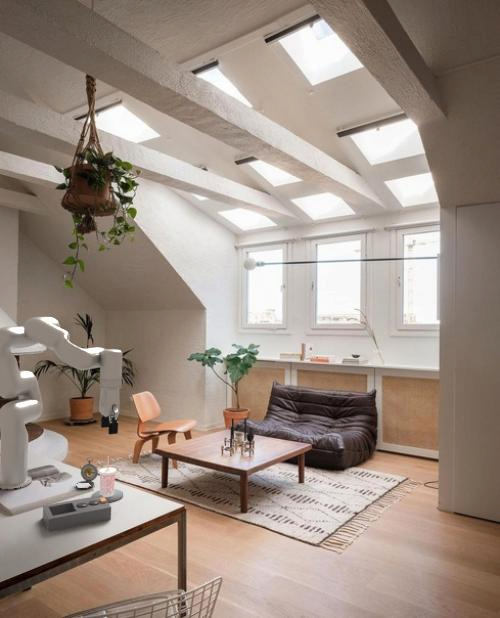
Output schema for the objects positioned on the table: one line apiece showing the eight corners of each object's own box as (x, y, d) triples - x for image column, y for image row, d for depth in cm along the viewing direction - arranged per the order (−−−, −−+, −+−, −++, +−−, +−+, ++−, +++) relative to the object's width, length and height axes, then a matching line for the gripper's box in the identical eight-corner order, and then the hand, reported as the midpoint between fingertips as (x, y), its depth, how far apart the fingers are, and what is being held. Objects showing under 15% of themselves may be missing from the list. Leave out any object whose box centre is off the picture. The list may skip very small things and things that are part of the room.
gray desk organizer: (42, 517, 156) (43, 503, 156) (101, 506, 166) (102, 492, 166) (48, 532, 146) (49, 516, 146) (110, 519, 157) (111, 504, 156)
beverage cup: (94, 496, 173) (95, 457, 173) (105, 490, 178) (106, 452, 178) (108, 499, 170) (110, 459, 170) (119, 493, 176) (120, 455, 176)
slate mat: (88, 493, 176) (88, 492, 176) (118, 488, 182) (118, 487, 182) (95, 505, 167) (95, 503, 167) (127, 499, 173) (127, 497, 173)
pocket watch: (77, 491, 178) (77, 464, 178) (73, 483, 186) (74, 457, 186) (99, 487, 182) (100, 461, 182) (95, 480, 190) (96, 455, 189)
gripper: (94, 380, 179) (92, 425, 179) (107, 388, 164) (105, 437, 165) (114, 379, 183) (112, 423, 183) (128, 386, 168) (126, 435, 169)
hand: (109, 430), depth 174 cm, fingers open, 9 cm apart
